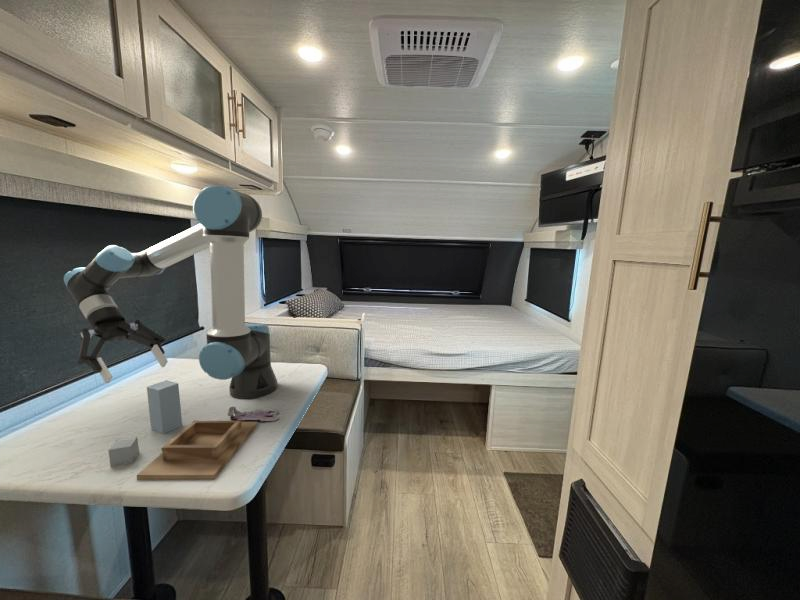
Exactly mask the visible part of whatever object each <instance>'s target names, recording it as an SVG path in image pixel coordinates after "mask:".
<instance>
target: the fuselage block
mask: <svg viewBox="0 0 800 600" xmlns="http://www.w3.org/2000/svg"><path fill="white" fill-rule="evenodd" d="M146 393H147V402H148V403H147V404H148V411H149V413H148V414H149V421H150V429H151V431H154V432H156V433H159V434H162V435H164V434H166V433H168V432H170V431H172V430H173V431H174V429H177V428H179V427H181V426H183V420H182V409H181V407H182V406H181V398H180V388H179V383H178V382H176V381H175V382H174V381H172V380H168V379H167V380H163V381H160V382H157V383H154V384H152V385H148V386H146Z"/></svg>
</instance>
